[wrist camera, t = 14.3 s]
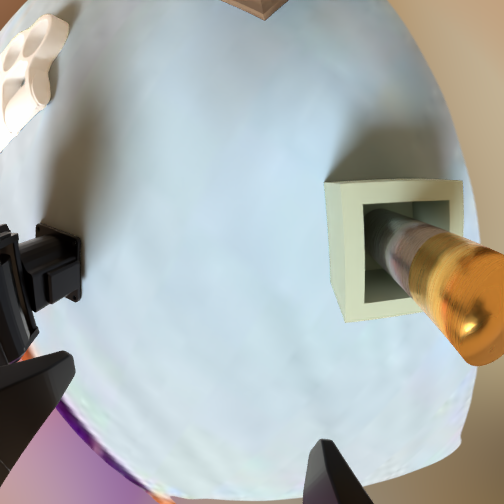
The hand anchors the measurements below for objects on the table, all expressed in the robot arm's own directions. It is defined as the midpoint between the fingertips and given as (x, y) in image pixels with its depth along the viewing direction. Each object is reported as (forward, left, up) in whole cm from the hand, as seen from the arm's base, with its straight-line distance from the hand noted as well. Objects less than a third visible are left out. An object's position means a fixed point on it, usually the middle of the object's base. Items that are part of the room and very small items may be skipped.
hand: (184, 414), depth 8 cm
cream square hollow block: (+8, +6, -13) cm, 16 cm away
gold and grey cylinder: (+8, +6, -12) cm, 16 cm away
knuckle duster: (-31, +14, -14) cm, 37 cm away
